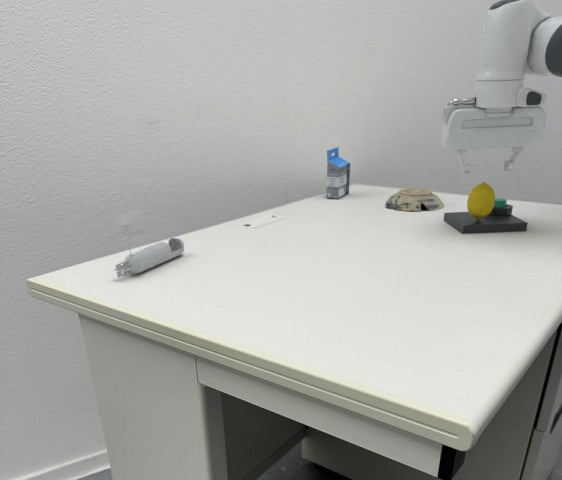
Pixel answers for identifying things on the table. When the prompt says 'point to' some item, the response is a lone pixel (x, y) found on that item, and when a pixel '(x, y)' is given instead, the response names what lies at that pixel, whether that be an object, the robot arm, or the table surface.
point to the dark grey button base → (486, 222)
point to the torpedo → (150, 257)
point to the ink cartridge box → (337, 175)
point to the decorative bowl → (414, 200)
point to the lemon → (481, 201)
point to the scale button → (500, 203)
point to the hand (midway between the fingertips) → (486, 171)
